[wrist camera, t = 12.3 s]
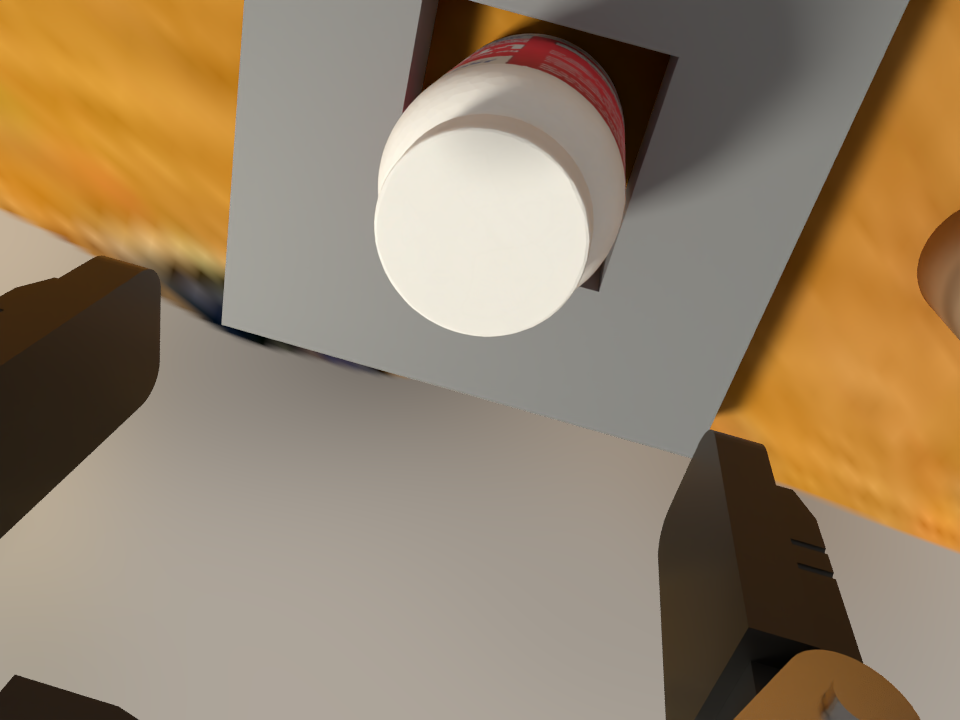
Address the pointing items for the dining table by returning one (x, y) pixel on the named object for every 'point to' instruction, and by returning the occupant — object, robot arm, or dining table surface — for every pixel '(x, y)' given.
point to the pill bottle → (503, 186)
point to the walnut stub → (942, 272)
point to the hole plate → (646, 217)
